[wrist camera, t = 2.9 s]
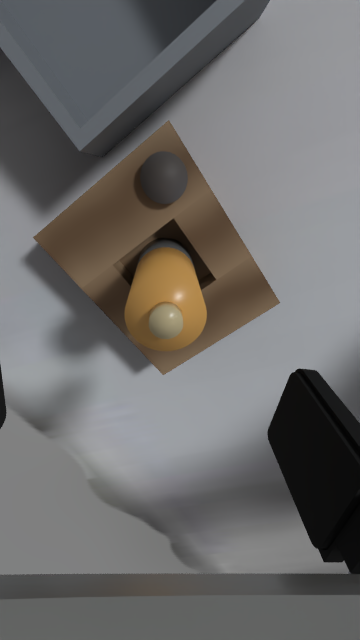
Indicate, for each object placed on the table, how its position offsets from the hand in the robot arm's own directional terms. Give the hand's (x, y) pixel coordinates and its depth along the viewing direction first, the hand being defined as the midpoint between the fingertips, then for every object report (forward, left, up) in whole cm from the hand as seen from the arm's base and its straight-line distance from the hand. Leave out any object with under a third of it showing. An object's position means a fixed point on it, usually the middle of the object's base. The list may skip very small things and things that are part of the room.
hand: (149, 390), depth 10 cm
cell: (0, -1, -14) cm, 14 cm away
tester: (0, -1, -16) cm, 16 cm away
